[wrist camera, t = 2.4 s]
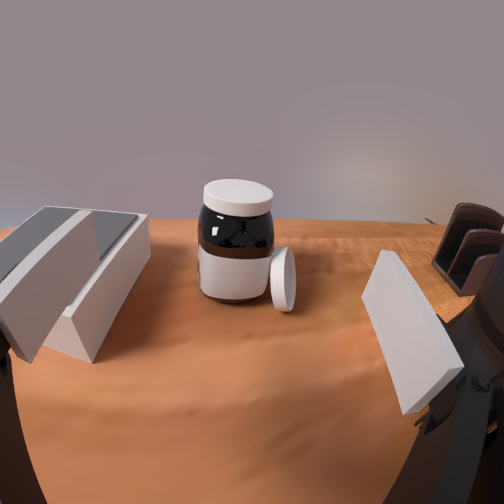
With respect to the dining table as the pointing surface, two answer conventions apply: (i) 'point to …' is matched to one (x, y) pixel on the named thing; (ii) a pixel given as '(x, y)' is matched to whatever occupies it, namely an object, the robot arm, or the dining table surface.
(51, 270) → the robot arm
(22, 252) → the riser
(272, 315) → the dining table surface
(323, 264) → the dining table surface
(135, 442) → the dining table surface
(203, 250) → the spread jar
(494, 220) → the letter holder
